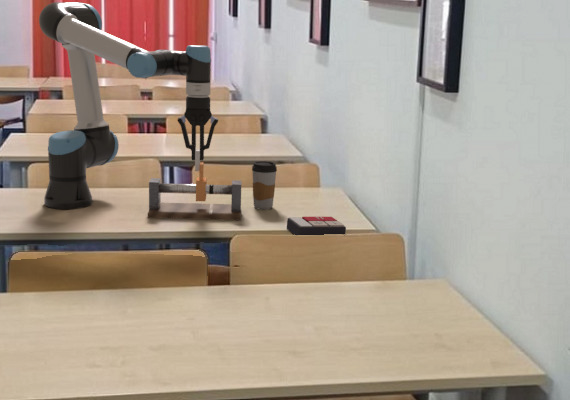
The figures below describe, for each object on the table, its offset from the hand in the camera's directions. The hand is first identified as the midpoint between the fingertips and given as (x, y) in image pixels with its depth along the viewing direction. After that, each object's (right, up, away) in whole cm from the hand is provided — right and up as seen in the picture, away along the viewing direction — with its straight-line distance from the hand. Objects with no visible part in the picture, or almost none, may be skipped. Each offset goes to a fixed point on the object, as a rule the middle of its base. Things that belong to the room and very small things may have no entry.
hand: (197, 170), depth 260 cm
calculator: (+37, -20, -12) cm, 44 cm away
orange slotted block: (+1, -9, +2) cm, 9 cm away
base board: (-1, -14, +3) cm, 14 cm away
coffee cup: (+20, -12, +14) cm, 28 cm away
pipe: (-1, -12, +3) cm, 13 cm away
